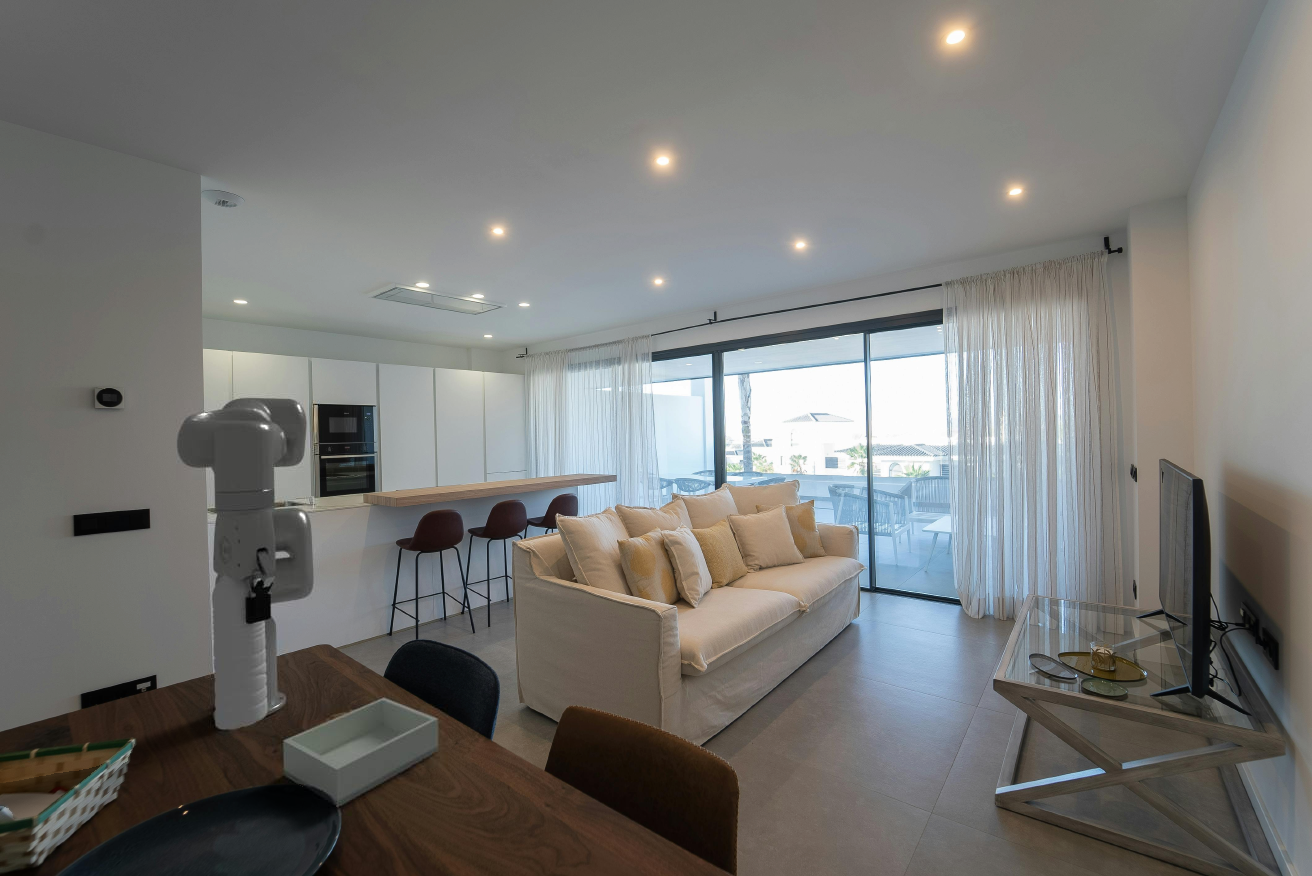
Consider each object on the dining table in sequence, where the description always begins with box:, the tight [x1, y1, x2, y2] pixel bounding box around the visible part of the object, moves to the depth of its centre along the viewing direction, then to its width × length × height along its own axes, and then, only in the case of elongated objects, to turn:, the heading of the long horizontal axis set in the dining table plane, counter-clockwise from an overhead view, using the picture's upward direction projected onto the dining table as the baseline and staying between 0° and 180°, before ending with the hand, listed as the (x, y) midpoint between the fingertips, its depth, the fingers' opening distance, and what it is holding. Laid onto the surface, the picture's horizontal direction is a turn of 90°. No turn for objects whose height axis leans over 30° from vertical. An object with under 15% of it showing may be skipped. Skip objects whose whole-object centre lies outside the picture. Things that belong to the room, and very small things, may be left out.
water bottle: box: [211, 572, 267, 730], centre depth 89 cm, size 9×6×25 cm
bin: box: [282, 697, 439, 807], centre depth 102 cm, size 17×19×6 cm
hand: (247, 616), depth 89 cm, fingers closed on water bottle, 6 cm apart
